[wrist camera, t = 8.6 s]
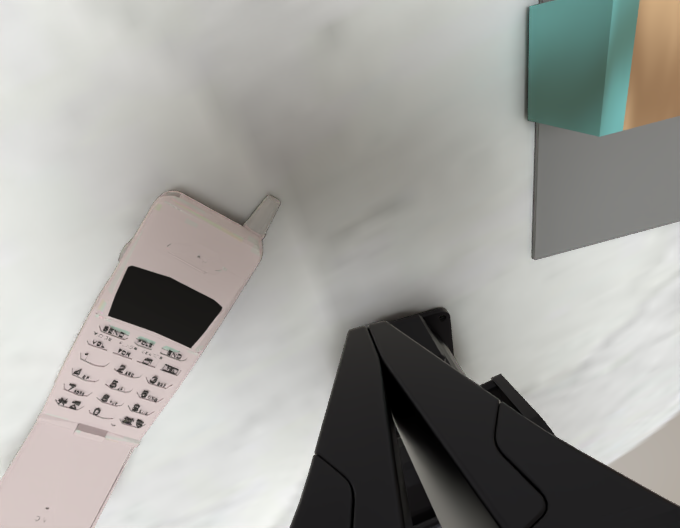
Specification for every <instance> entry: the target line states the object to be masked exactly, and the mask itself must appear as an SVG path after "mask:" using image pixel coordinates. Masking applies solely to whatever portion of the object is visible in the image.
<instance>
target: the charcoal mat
mask: <svg viewBox="0 0 680 528" xmlns="http://www.w3.org/2000/svg"><path fill="white" fill-rule="evenodd" d="M549 1H553V0H539V4H541V3H545V2H549ZM679 221H680V116H677V117H673V118H669V119H666V120H662V121H658V122H654V123H650V124H646V125H643V126H639V127H635V128H631V129H627V130H623V131H620V132H616V133H612V134H608V135H604V136H600V137H598V136H594V135H589V134H585V133H581V132H576V131H572V130H568V129H563V128H559V127H554V126H550V125H546V124H541V123H537V122H536V137H535V171H534V206H533V240H532V258H533V259H534V260H537V259H541V258H545V257H548V256H552V255H556V254H560V253H563V252H567V251H571V250H574V249H578V248H582V247H586V246H589V245H593V244H597V243H601V242H604V241H608V240H612V239H615V238H619V237H623V236H627V235H630V234H634V233H638V232H641V231H645V230H649V229H653V228H656V227H660V226H664V225H668V224H671V223H675V222H679Z"/></svg>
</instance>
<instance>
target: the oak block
mask: <svg viewBox="0 0 680 528" xmlns="http://www.w3.org/2000/svg"><path fill="white" fill-rule="evenodd" d="M677 116H680V0H553V1H549V2H545V3H541V4H537V5H533V6H530V9H529V70H528V121H533V122H537V123H541V124H546V125H550V126H554V127H559V128H563V129H568V130H572V131H576V132H581V133H585V134H589V135H594V136H598V137H600V136H604V135H608V134H612V133H616V132H620V131H623V130H627V129H631V128H635V127H639V126H643V125H646V124H650V123H654V122H658V121H662V120H666V119H669V118H673V117H677Z"/></svg>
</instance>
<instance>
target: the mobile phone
mask: <svg viewBox="0 0 680 528" xmlns="http://www.w3.org/2000/svg"><path fill="white" fill-rule="evenodd" d="M279 206H280V201H279V200H277V199H276V198H274V197H273V196H270V195H267V196H266V198H265V199H264V200H263V201H262V203H261V204H260V205H259V206H258V208H257V209H256V210H255V211H254V213H253V214H252V215H251V216H250V218H249V219H248V220H247V221H246V222H245V223H244V225H243V226H242V225H240V224H238V223H236V222H234V221H233V220H231V219H229V218H227V217H225V216H223V215H222V214H220V213H218V212H216V211H214V210H212V209H211V208H209V207H207V206H205V205H203V204H201V203H200V202H198V201H196V200H194V199H192V198H190V197H189V196H187V195H185V194H183V193H181V192H179V191H168V192H165V193H163V194H161V195H160V196H159V197H158V198H157V199H156V200H155V202H154V203H153V205H152V206H151V208H150V210H149V211H148V213H147V215H146V217H145V218H144V220H143V222H142V224H141V225H140V227H139V229H138V231H137V232H136V234H135V236H134V237H133V238H132V239H131V240H130V241H129V242H128V243H127V244H126V245H125V246H124V248H123V249H122V251H121V253H120V256H119V259H118V260H119V264H118V265H117V267H116V269H115V271H114V272H113V274H112V276H111V277H110V279H109V280H108V281H107V283H106V284H105V286H104V288H103V289H102V291H101V293H100V294H99V296H98V297H97V299H96V301H95V303H94V305H93V307H92V309H91V311H90V313H89V315H88V317H87V319H86V320H85V322H84V324H83V326H82V328H81V330H80V332H79V334H78V336H77V338H76V340H75V342H74V344H73V346H72V348H71V350H70V351H69V353H68V355H67V357H66V359H65V361H64V363H63V365H62V367H61V369H60V371H59V373H58V375H57V378H56V380H55V383H54V386H53V388H52V390H51V393H50V395H49V397H48V399H47V401H46V403H45V405H44V407H43V409H42V412H41V413H40V414H39V416H38V417H37V419H36V420H37V421H36V423H35V425H34V426H33V428H32V430H31V431H30V433H29V435H28V436H27V438H26V440H25V441H24V443H23V444H22V446H21V448H20V449H19V451H18V453H17V454H16V456H15V458H14V459H13V461H12V463H11V464H10V466H9V467H8V469H7V471H6V472H5V474H4V476H3V477H2V479H1V481H0V528H94V527H95V525H96V523H97V521H98V519H99V517H100V515H101V513H102V511H103V509H104V507H105V505H106V503H107V501H108V499H109V497H110V495H111V493H112V491H113V489H114V487H115V485H116V483H117V481H118V479H119V477H120V475H121V473H122V471H123V469H124V467H125V465H126V463H127V461H128V459H129V457H130V455H131V453H132V451H133V449H134V447H137V446H138V445H139V444H140V442H141V438H142V437H143V436H144V434H145V433H146V432H147V430H148V429H149V428H150V426H151V425H152V423H153V422H154V421H155V419H156V418H157V417H158V415H159V414H160V413H161V411H162V410H163V409H164V407H165V406H166V404H167V403H168V402H169V400H170V399H171V398H172V396H173V395H174V394H175V392H176V391H177V390H178V388H179V387H180V385H181V384H182V382H183V381H184V379H185V378H186V376H187V375H188V373H189V372H190V370H191V369H192V367H193V366H194V364H195V363H196V362H197V360H198V358H199V357H200V355H201V354H202V352H203V351H204V349H205V348H206V346H207V345H208V343H209V342H210V340H211V339H212V337H213V336H214V334H215V333H216V331H217V329H218V328H219V326H220V325H221V323H222V322H223V320H224V319H225V317H226V315H227V314H228V312H229V311H230V309H231V307H232V306H233V304H234V302H235V301H236V299H237V298H238V296H239V294H240V293H241V291H242V290H243V288H244V286H245V285H246V283H247V282H248V280H249V279H250V277H251V275H252V274H253V272H254V270H255V269H256V267H257V266H258V264H259V262H260V261H261V259H262V255H263V244H262V242H261V241H262V240H263V238H264V237H265V235H266V234H265V232H266V231H267V229H268V227H269V225H270V223H271V221H272V219H273V217H274V215H275V213H276V211H277V210H278V208H279ZM132 447H133V449H132ZM131 449H132V451H131ZM130 451H131V453H130ZM129 453H130V455H129ZM128 455H129V457H128ZM127 457H128V458H127ZM126 459H127V460H126ZM125 461H126V462H125ZM124 463H125V464H124ZM123 465H124V466H123Z"/></svg>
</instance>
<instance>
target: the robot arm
mask: <svg viewBox="0 0 680 528" xmlns="http://www.w3.org/2000/svg"><path fill="white" fill-rule="evenodd" d="M441 315H444V316H443V317H441V318H439V317H440V316H441ZM290 528H680V506H679V505H677V504H675V503H673V502H671V501H669V500H667V499H665V498H664V497H662V496H659V495H658V494H656V493H655V492H653V491H651V490H649V489H647V488H646V487H644V486H642V485H640V484H639V483H637V482H635V481H633V480H631V479H630V478H628V477H626V476H624V475H622V474H621V473H619V472H617V471H615V470H614V469H612V468H610V467H608V466H606V465H605V464H603V463H601V462H599V461H598V460H596V459H594V458H592V457H590V456H589V455H587V454H585V453H583V452H581V451H580V450H578V449H576V448H575V447H573V446H571V445H569V444H568V443H566V442H564V441H563V440H561V439H559V438H558V437H556V436H555V435H554V433H553V432H552V430H551V429H550V428H549V426H548V425H547V424H546V423H545V421H544V420H543V419H542V418H541V417H540V415H539V414H538V413H537V412H536V411H535V410H534V409H533V408H532V407H531V406H530V405H529V404H528V403H527V402H526V400H525V399H524V398H523V397H522V396H521V395H520V394H519V393H518V392H517V391H516V390H515V389H514V388H513V387H512V385H511V384H510V383H509V382H508V381H507V380H506V379H505V378H504V377H503V376H502V375H501V374H499V375H497V376H495V377H492V378H491V380H490V381H488V382H486V383H484V384H482V385H478V384H476V383H475V382H473V381H472V380H471V379H469V378H468V377H466V375H465V374H464V372H463V371H462V369H461V367H460V366H459V364H458V362H457V361H456V359H455V358H454V353H453V342H452V332H451V321H450V315H449V313H448V312H447V310H446V309H444V308H439V309H435V310H432V311H428V312H424V313H421V314H417V315H413V316H410V317H406V318H402V319H399V320H395V321H391V322H387V321H380V322H376V323H372V324H369V325H368V328H367V327H366V326H361V327H357V328H354V329H351V330H349V331H348V334H347V338H346V341H345V345H344V348H343V352H342V355H341V359H340V363H339V366H338V370H337V373H336V377H335V380H334V384H333V388H332V391H331V395H330V398H329V402H328V406H327V409H326V413H325V416H324V420H323V423H322V427H321V431H320V434H319V438H318V441H317V445H316V449H315V455H314V456H313V459H312V462H311V466H310V469H309V473H308V476H307V479H306V483H305V486H304V489H303V492H302V495H301V498H300V502H299V504H298V507H297V510H296V512H295V515H294V517H293V520H292V523H291V525H290Z"/></svg>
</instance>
